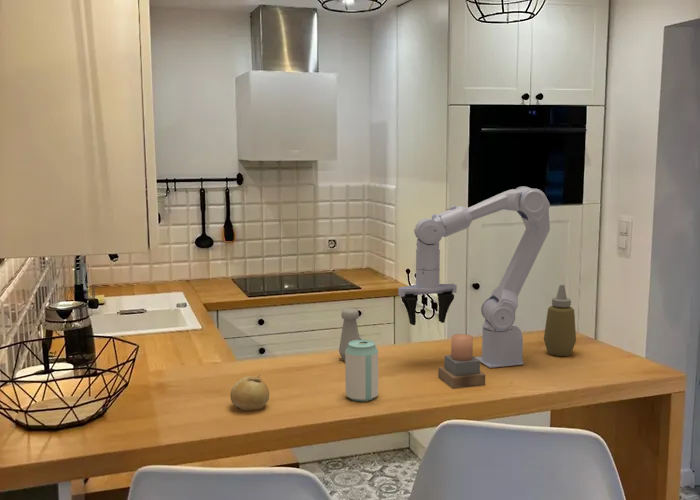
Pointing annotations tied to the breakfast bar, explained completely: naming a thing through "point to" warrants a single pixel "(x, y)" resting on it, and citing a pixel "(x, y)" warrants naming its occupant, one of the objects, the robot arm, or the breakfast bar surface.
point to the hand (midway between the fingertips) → (427, 322)
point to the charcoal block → (462, 366)
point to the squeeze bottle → (560, 325)
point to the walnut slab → (460, 379)
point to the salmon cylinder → (462, 347)
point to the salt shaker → (348, 329)
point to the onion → (250, 393)
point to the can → (361, 370)
